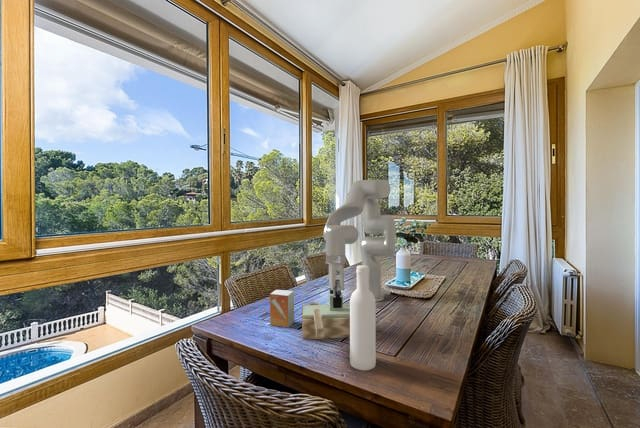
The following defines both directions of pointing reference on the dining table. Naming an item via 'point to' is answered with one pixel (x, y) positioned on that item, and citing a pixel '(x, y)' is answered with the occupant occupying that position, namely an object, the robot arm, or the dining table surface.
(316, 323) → the key
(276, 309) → the small box
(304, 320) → the toolbox
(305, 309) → the lid
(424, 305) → the dining table surface
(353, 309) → the bottle
